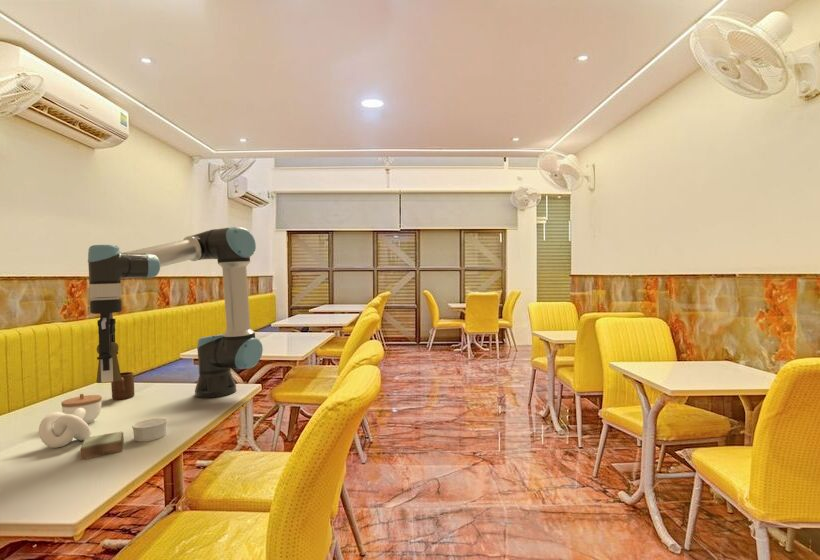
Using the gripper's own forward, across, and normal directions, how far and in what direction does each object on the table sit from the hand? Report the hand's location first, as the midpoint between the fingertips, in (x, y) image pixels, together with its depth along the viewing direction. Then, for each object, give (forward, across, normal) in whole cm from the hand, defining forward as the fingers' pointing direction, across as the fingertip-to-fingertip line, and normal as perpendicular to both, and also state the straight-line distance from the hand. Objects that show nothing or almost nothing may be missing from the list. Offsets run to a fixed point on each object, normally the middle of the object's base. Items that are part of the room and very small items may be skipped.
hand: (108, 379), depth 130 cm
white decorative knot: (+18, -5, -10) cm, 21 cm away
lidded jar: (+18, -27, -11) cm, 34 cm away
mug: (+17, -55, -2) cm, 58 cm away
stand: (+18, +7, -1) cm, 19 cm away
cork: (0, 0, 0) cm, 0 cm away
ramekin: (+18, +3, +10) cm, 21 cm away
